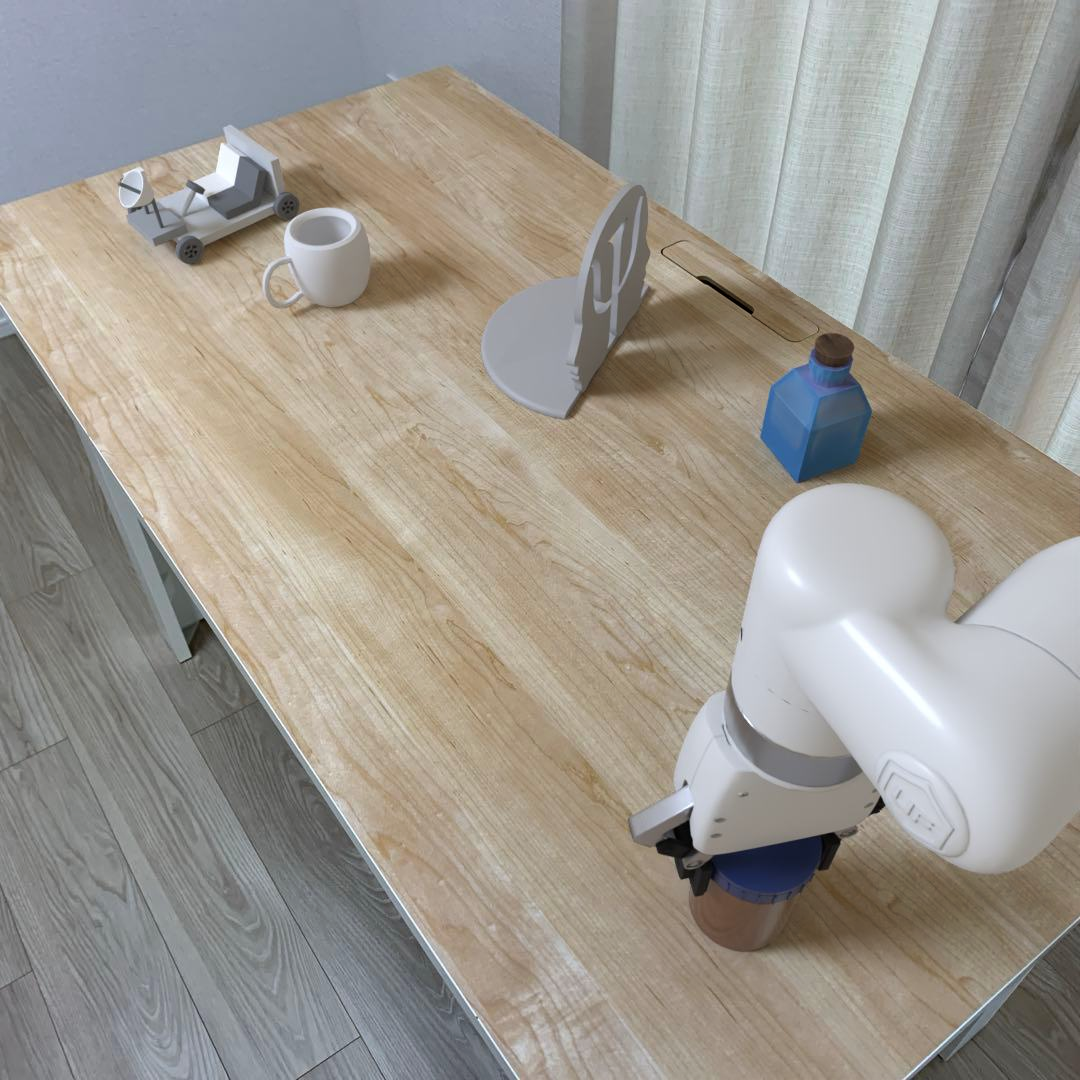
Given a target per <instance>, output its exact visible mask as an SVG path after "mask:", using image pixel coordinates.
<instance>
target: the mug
mask: <svg viewBox="0 0 1080 1080" xmlns="http://www.w3.org/2000/svg"><path fill="white" fill-rule="evenodd" d="M290 220H291V221H290V222H289V223H288V224H287V226H286V227H285V231H284V236H283V247H284V253H285V256H282V257H280V258H279V257H278V258H276V259H275V260H273V261H271V262H270V263H269V264H268V265H267V267H266V269H265V270H264V272H263V277H262V283H261V286H262V293H263V296H264V298H265V300H266V302H267V304H269V305H270V306H271V307H273V308H275V309H287V308H290V307H292V306H294V305H295V304H297V303H298V302H299V301H300V300H301V299H302V298H303V297H305V298H306V299H307V300H309V301H310V302H312V303H313V304H315V305H317V306H320V307H323V308H339V307H344V306H348V305H349V304H352V303H354V302H355V301H357V300H358V299H359V298H360V297H361V296H362V294H364V292H365V290H366V288H367V286H368V284H369V280H370V274H371V267H372V266H371V265H372V261H371V260H372V259H371V247H370V242H369V238H368V235H367V231H366V229H365V226H364V224H363V223H362V221H361V219H360V218H359V217H358V216H357V215H356V214H355V213H354V212H351V211H349V210H347V209H344V208H339V207H319V208H313V209H309V210H306V211H303V212H302V213H300V214H298V215H297V216H296V215H295V216H294V217H293V218H292V219H290ZM284 265H287V268H288V270H289V272H290V275H291V277H292V279H293V281H294V283H295V285H296V287H297V289H298V291H296V292H295V293H294V294H293V295H292V296H291V297H290V298H288V299H286V300H283V301H282V300H281V301H278V300H276V299H275V298H274V297H273V294H272V293H271V289H270V284H271V282H270V281H271V277H272V275H273V273H274V271H276V270H277V269H278V268H279V267H280V266H284Z"/></svg>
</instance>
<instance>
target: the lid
mask: <svg viewBox="0 0 1080 1080" xmlns="http://www.w3.org/2000/svg"><path fill="white" fill-rule="evenodd" d="M821 853H822V834H821V835H817V836H812V837H807V838H802V839H797V840H793V841H788V842H783V843H778V844H773V845H768V846H763V847H758V848H753V849H747V850H742V851H737V852H731V853H725V854H716V855H715V856H713V857H712V858H711V859H710V860H711V863H712V868H713V870H712V874H711V877H712V878H713V881H715V882H716V883H717V884H718V885H719V886H721V887H722V888H723V889H724V890H725V892H726V893H727V892H728V893H730V894H732V895H733V896H735V897H738V898H739V899H740V900H745V901H748V902H753V903H756V905H758V903H759V904H772V905H774V903H778V902H782V901H785V900H787V901H789V899H790V898H792V897H794V896H795V895H797V894H798V893H799V892H800V894H802V893H803V892H804V891H803V890H804V889H805V888H806V887H807V886H808V884H809V883H812V882H813V880H814V876H815V874H816V873H815V872H816V870H818V869H817V868H818V866H819V863H820V861H821V860H820V858H821Z"/></svg>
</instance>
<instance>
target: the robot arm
mask: <svg viewBox="0 0 1080 1080" xmlns="http://www.w3.org/2000/svg"><path fill="white" fill-rule="evenodd" d="M955 567H956V566H955V564H954V558H953V552H952V548H951V546H950V544H949V541H948V539H947V538H946V536H945V534H944V533H943V532H942V530H941V528H940V527H939V525H938V524H937V523H936V522H935V521H934V519H933V518H932V517H931V516H930V515H929V514H928V513H927V512H926V511H924V510H923V509H922V508H921V507H920V506H918V505H917V504H915V503H914V502H912V501H911V500H909V499H907V498H906V497H904V496H902V495H900V494H898V493H895V492H893V491H891V490H889V489H885V488H881V487H878V486H875V485H868V484H864V483H853V482H837V483H831V484H825V485H821V486H818V487H814V488H810V489H808V490H806V491H804V492H802V493H799V494H798V495H796V496H794V497H793V498H791V499H790V500H789V501H787V502H786V503H785V504H784V505H783V506H782V507H780V508H779V510H778V511H777V512H776V513H775V514H774V515H773V517H772V518H771V519H770V521H769V523H768V525H767V526H766V528H765V529H764V532H763V534H762V538H761V540H760V544H759V547H758V550H757V554H756V559H755V563H754V568H753V571H752V576H751V580H750V585H749V589H748V593H747V598H746V602H745V607H744V611H743V615H742V620H741V624H740V629H739V633H738V637H737V642H736V646H735V650H734V656H733V659H732V663H731V669H730V673H729V676H728V682H727V686H726V689H723V690H720V691H718V692H715V693H713V694H711V695H710V696H709V698H708V699H707V700H706V701H705V702H704V704H703V705H702V706H701V708H700V710H698V712H697V714H696V716H695V717H694V719H693V721H692V722H691V725H690V727H689V729H688V731H687V733H686V735H685V738H684V739H683V740H684V741H683V743H682V746H681V748H680V751H679V754H678V758H677V761H676V764H675V768H674V772H673V778H672V779H673V780H672V781H673V787H674V792H672V793H670V794H669V795H666V796H665V797H663V798H661V799H660V800H658V801H656V802H654V803H652V804H651V805H649V806H647V807H645V808H644V809H641V810H640V811H638V812H636V813H634V814H632V815H630V816H628V818H627V824H628V828H629V832H630V835H631V838H632V842H633V843H634V844H638V845H641V846H644V847H647V848H653V847H654V848H655V849H656V852H657V854H659V855H662V856H666V857H669V858H673V859H674V865H675V868H676V873H677V875H678V877H679V880H681V881H683V880H687V879H688V881H689V885H690V886H691V888H692V891H693V894H694V896H695V897H697V896H702V895H704V893H705V892H707V888H708V885H709V881H710V878H711V874H712V870H713V868H712V863H711V860H710V859H711V858H712V857H713V856H715V855H716V854H725V853H731V852H737V851H742V850H747V849H753V848H758V847H763V846H768V845H773V844H778V843H783V842H788V841H793V840H797V839H802V838H807V837H812V836H817V835H821V834H822V853H821V858H820V860H821V861H820V863H819V866H818V868H817V869H816V870H818V872H823V871H827V870H829V869H830V867H831V865H832V862H833V860H834V858H835V856H836V854H837V852H838V851H839V848H840V846H841V844H842V843H841V842H842V840H844V839H848V838H851V837H853V836H855V835H857V833H858V832H859V829H858V826H857V825H859V824H862V823H863V822H864V821H865V820H866V819H867V818H868V817H870V816H872V815H876V814H880V813H881V811H883V809H885V807H886V809H887V810H888V811H889V813H890V815H891V816H892V817H893V819H894V820H895V821H896V823H897V824H898V825H899V826H900V828H902V830H903V831H904V832H905V833H906V834H907V835H909V836H910V838H912V840H914V841H915V842H916V843H918V844H920V845H921V846H922V847H923V848H925V849H927V850H928V851H931V852H933V853H934V854H935V855H936V856H938V857H940V858H941V859H943V860H944V861H946V862H947V863H950V864H952V865H953V866H956V867H957V868H959V869H961V870H963V871H964V870H965V871H967V872H971V873H975V874H981V875H1001V874H1005V873H1009V872H1011V871H1014V870H1016V869H1019V868H1020V867H1023V866H1024V865H1026V864H1028V863H1029V862H1031V861H1032V860H1034V858H1036V856H1038V855H1039V854H1041V852H1042V851H1044V850H1045V848H1047V846H1048V845H1049V844H1050V843H1052V842H1053V841H1054V840H1055V839H1056V837H1058V835H1059V834H1060V833H1061V832H1062V831H1063V830H1064V829H1065V827H1066V826H1067V825H1068V824H1069V823H1070V822H1071V821H1072V820H1073V818H1074V817H1076V815H1078V814H1079V812H1080V535H1078V536H1075V537H1072V538H1068V539H1065V540H1063V541H1060V542H1058V543H1056V544H1053V545H1051V546H1049V547H1047V548H1045V549H1043V550H1040V551H1038V552H1037V553H1035V554H1033V555H1032V556H1030V557H1029V558H1027V559H1026V560H1024V561H1023V562H1022V563H1021V564H1020V565H1018V566H1017V567H1016V568H1015V569H1013V570H1012V571H1011V572H1010V573H1008V574H1007V575H1006V576H1005V577H1004V578H1003V579H1001V580H1000V581H999V582H998V583H996V584H995V585H994V586H993V587H992V588H991V589H989V590H988V591H987V592H986V593H985V594H984V595H983V596H982V597H980V598H979V599H978V600H977V601H976V602H975V603H973V604H972V605H971V606H970V607H969V608H968V609H967V610H965V612H963V613H962V614H961V615H959V617H958V618H957V619H955V620H954V621H953V620H952V619H951V618H950V617H949V615H948V613H947V610H948V607H949V604H950V602H951V600H952V599H951V598H952V596H953V592H954V588H955V577H956V568H955Z"/></svg>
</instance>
